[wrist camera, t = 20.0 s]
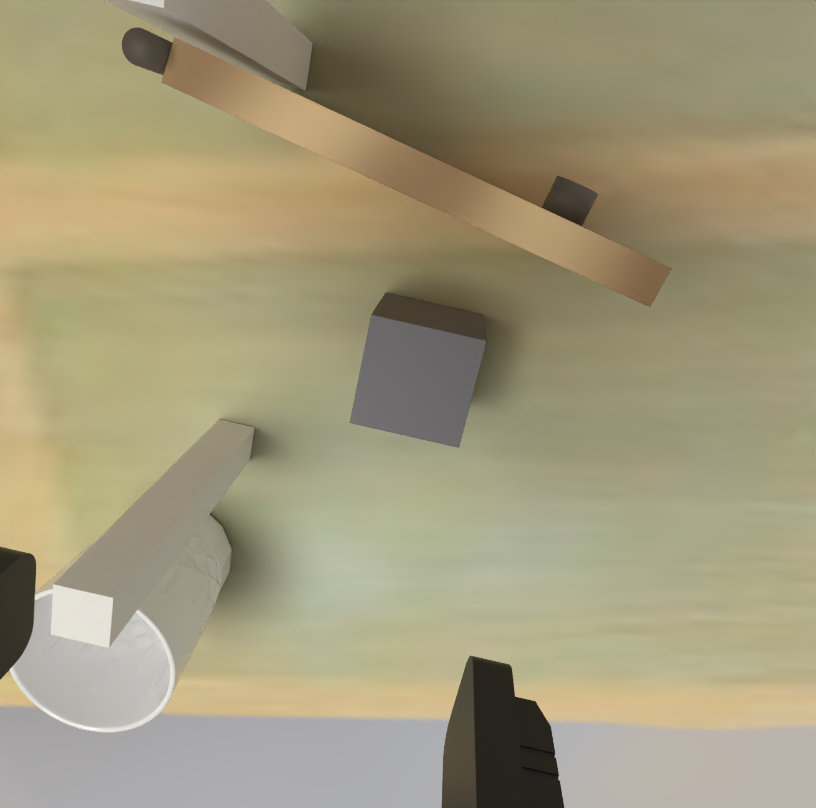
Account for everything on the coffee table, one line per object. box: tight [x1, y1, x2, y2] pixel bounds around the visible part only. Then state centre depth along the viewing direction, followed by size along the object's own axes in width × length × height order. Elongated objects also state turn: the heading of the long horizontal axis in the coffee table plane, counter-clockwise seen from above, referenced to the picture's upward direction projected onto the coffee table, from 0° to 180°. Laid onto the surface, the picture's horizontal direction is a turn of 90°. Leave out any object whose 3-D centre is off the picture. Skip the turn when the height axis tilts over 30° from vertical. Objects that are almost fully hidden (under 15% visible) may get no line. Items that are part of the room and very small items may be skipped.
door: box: [122, 28, 672, 307], centre depth 25 cm, size 16×2×15 cm, turn 66°
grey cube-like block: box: [350, 293, 486, 448], centre depth 32 cm, size 5×5×6 cm
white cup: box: [10, 514, 232, 732], centre depth 35 cm, size 8×8×10 cm
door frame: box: [51, 0, 313, 648], centre depth 27 cm, size 21×2×16 cm, turn 167°
